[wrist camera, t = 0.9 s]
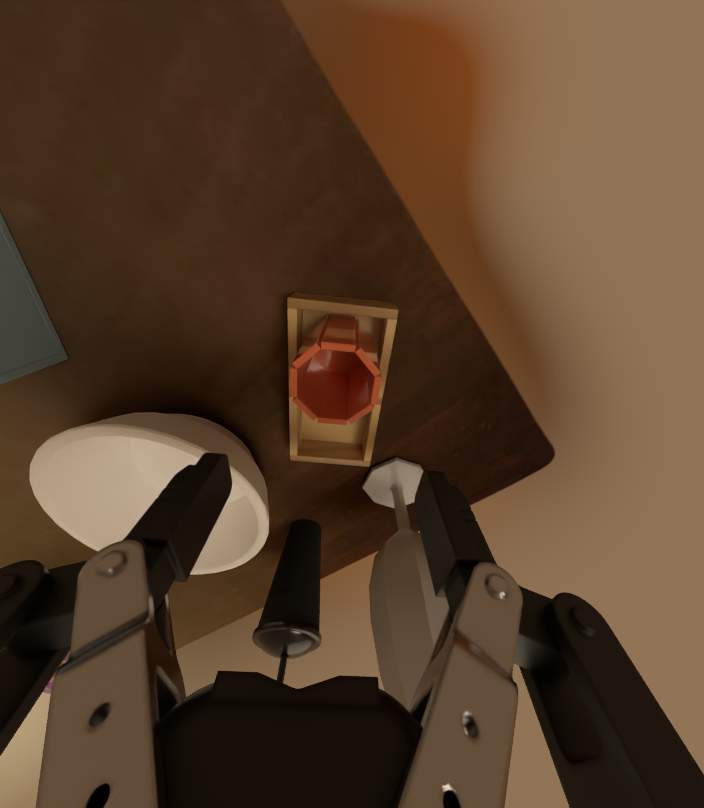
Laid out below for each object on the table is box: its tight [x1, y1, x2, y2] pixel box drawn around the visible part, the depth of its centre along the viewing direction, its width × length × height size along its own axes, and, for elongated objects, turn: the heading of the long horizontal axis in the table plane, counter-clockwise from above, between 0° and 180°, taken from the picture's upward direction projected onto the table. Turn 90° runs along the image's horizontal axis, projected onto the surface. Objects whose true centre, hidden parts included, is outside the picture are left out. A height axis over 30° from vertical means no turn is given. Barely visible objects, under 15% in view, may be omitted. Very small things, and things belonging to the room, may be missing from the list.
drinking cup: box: [252, 520, 321, 683], centre depth 32 cm, size 8×8×20 cm
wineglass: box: [362, 457, 449, 710], centre depth 27 cm, size 9×9×21 cm
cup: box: [290, 314, 382, 425], centre depth 22 cm, size 6×6×9 cm
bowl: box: [30, 412, 269, 574], centre depth 30 cm, size 22×22×8 cm
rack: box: [287, 292, 399, 467], centre depth 27 cm, size 17×9×3 cm, turn 174°
